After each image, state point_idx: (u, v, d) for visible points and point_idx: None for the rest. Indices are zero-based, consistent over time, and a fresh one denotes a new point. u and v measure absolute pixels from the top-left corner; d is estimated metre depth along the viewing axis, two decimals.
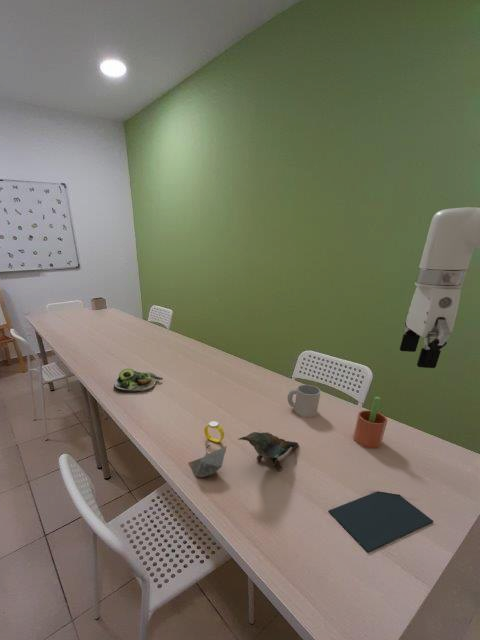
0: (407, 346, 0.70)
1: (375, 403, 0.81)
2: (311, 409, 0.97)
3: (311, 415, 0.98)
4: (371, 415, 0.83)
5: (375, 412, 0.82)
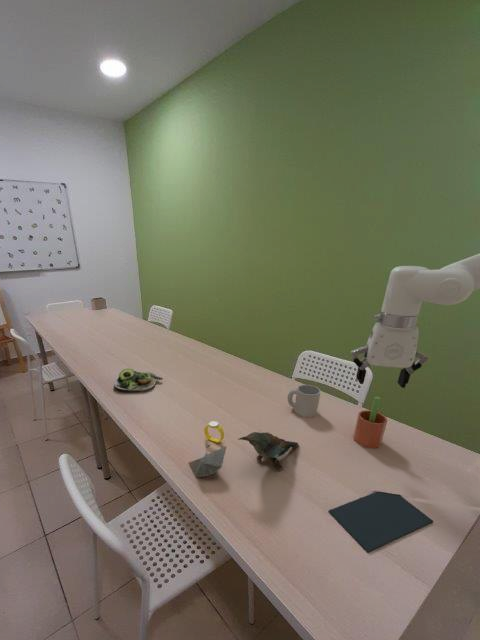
0: (399, 380, 0.78)
1: (375, 403, 0.81)
2: (311, 409, 0.97)
3: (311, 415, 0.98)
4: (371, 415, 0.83)
5: (375, 412, 0.82)
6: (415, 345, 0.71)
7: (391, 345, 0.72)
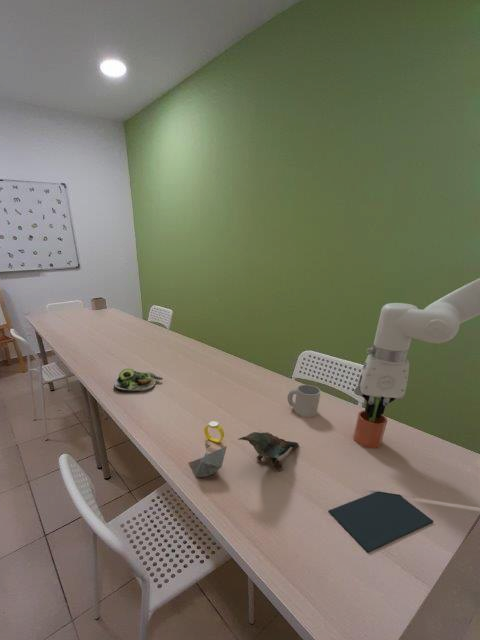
0: None
1: (375, 403, 0.81)
2: (311, 409, 0.97)
3: (311, 415, 0.98)
4: None
5: (375, 412, 0.82)
6: (406, 377, 0.75)
7: (383, 377, 0.76)
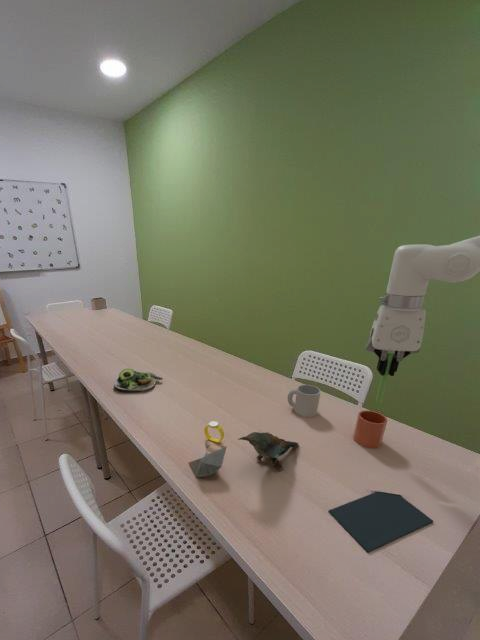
0: None
1: (388, 359, 0.75)
2: (311, 409, 0.97)
3: (311, 415, 0.98)
4: None
5: (388, 370, 0.76)
6: (422, 327, 0.69)
7: (397, 327, 0.70)
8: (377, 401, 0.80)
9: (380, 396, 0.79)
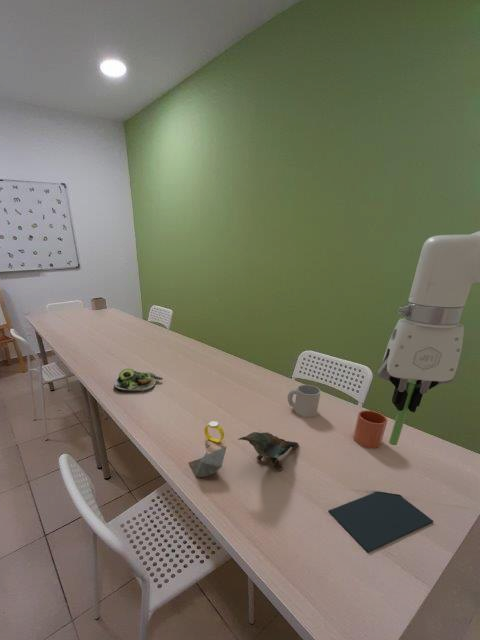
0: None
1: (408, 390, 0.56)
2: (311, 409, 0.97)
3: (311, 415, 0.98)
4: None
5: (408, 403, 0.57)
6: (459, 350, 0.50)
7: (423, 350, 0.51)
8: (391, 443, 0.61)
9: (395, 436, 0.60)
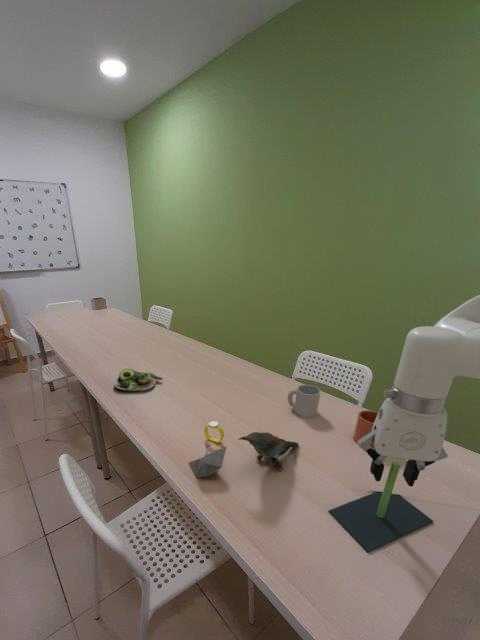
0: (406, 474, 0.59)
1: (393, 471, 0.58)
2: (311, 409, 0.97)
3: (311, 415, 0.98)
4: (387, 485, 0.60)
5: (393, 482, 0.59)
6: (442, 434, 0.51)
7: (408, 433, 0.52)
8: (379, 515, 0.63)
9: (382, 510, 0.62)
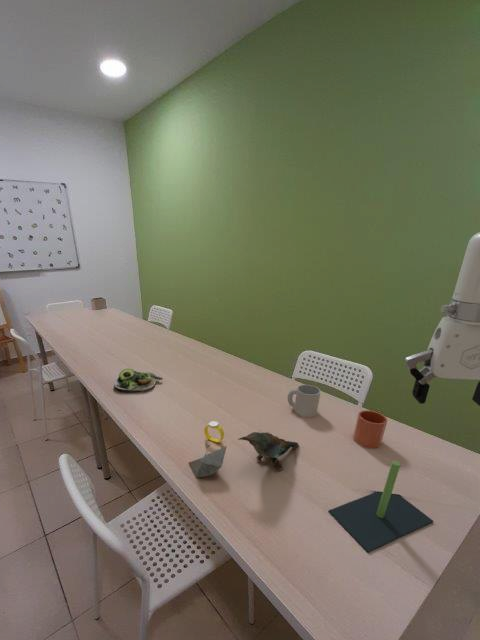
0: (477, 396, 0.55)
1: (393, 471, 0.58)
2: (311, 409, 0.97)
3: (311, 415, 0.98)
4: (387, 485, 0.60)
5: (393, 482, 0.59)
6: None
7: (471, 348, 0.49)
8: (379, 515, 0.63)
9: (382, 510, 0.62)
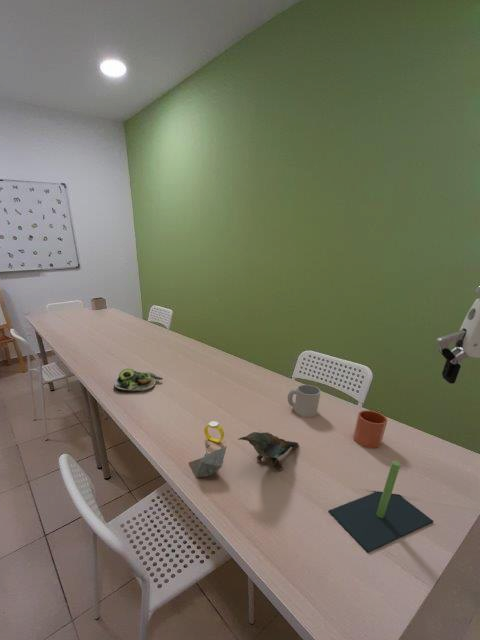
0: None
1: (393, 471, 0.58)
2: (311, 409, 0.97)
3: (311, 415, 0.98)
4: (387, 485, 0.60)
5: (393, 482, 0.59)
6: None
7: None
8: (379, 515, 0.63)
9: (382, 510, 0.62)
